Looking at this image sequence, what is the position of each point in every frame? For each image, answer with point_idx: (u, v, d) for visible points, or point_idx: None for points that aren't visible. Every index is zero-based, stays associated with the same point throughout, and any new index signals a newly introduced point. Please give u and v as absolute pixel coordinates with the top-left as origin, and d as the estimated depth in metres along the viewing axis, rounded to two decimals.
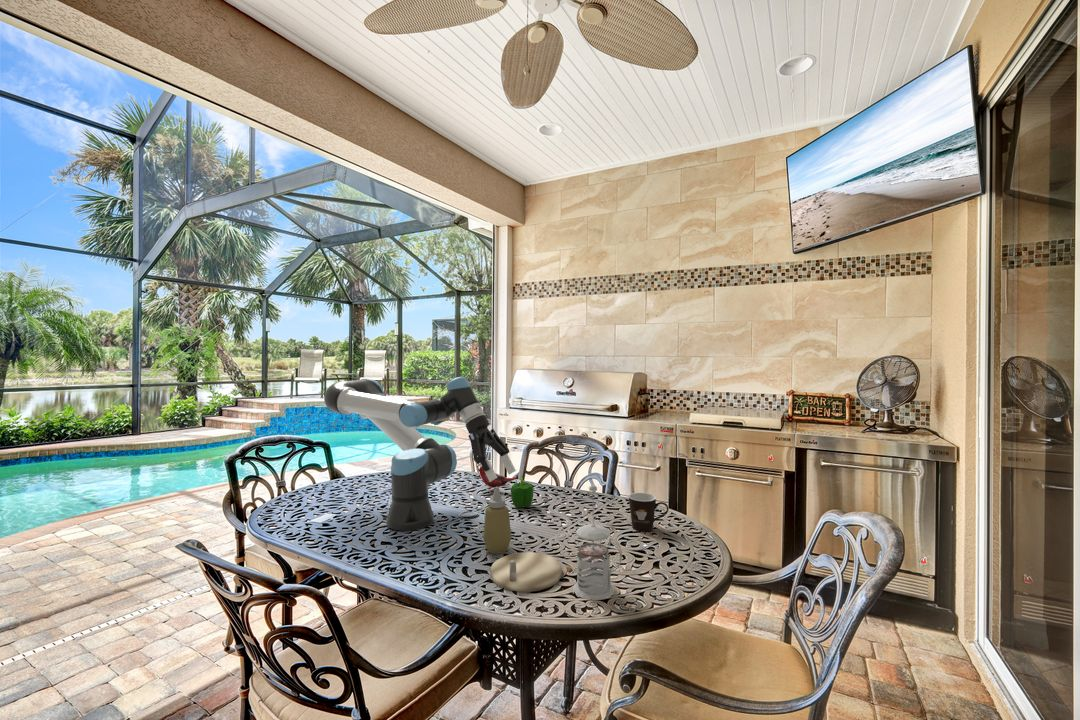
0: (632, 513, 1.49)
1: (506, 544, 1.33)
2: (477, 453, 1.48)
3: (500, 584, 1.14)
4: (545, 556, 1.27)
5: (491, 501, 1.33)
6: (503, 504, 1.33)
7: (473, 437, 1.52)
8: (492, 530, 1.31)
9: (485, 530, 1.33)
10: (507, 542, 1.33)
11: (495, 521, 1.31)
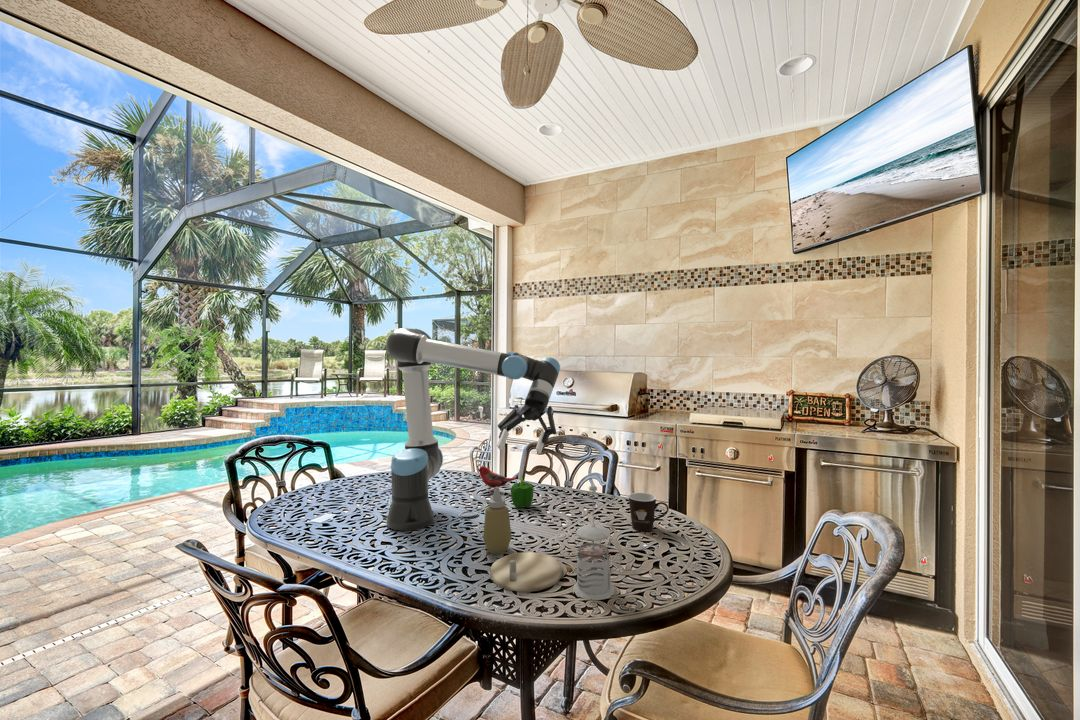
0: (632, 513, 1.49)
1: (506, 544, 1.33)
2: None
3: (500, 584, 1.14)
4: (545, 556, 1.27)
5: (491, 501, 1.33)
6: (503, 504, 1.33)
7: (552, 413, 1.52)
8: (492, 530, 1.31)
9: (485, 530, 1.33)
10: (507, 542, 1.33)
11: (495, 521, 1.31)
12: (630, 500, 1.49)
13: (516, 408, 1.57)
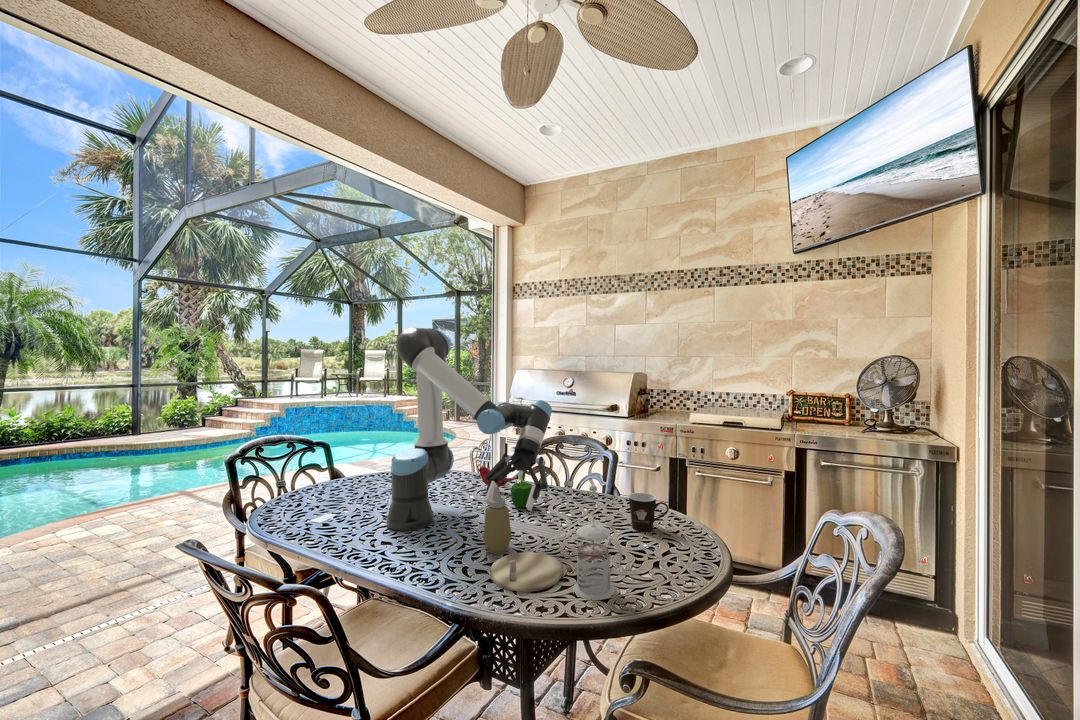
0: (632, 513, 1.49)
1: (506, 544, 1.33)
2: (546, 481, 1.39)
3: (500, 584, 1.14)
4: (545, 556, 1.27)
5: (491, 501, 1.33)
6: (503, 504, 1.33)
7: (543, 464, 1.43)
8: (492, 530, 1.31)
9: (485, 530, 1.33)
10: (507, 542, 1.33)
11: (495, 521, 1.31)
12: (630, 500, 1.49)
13: (505, 457, 1.47)
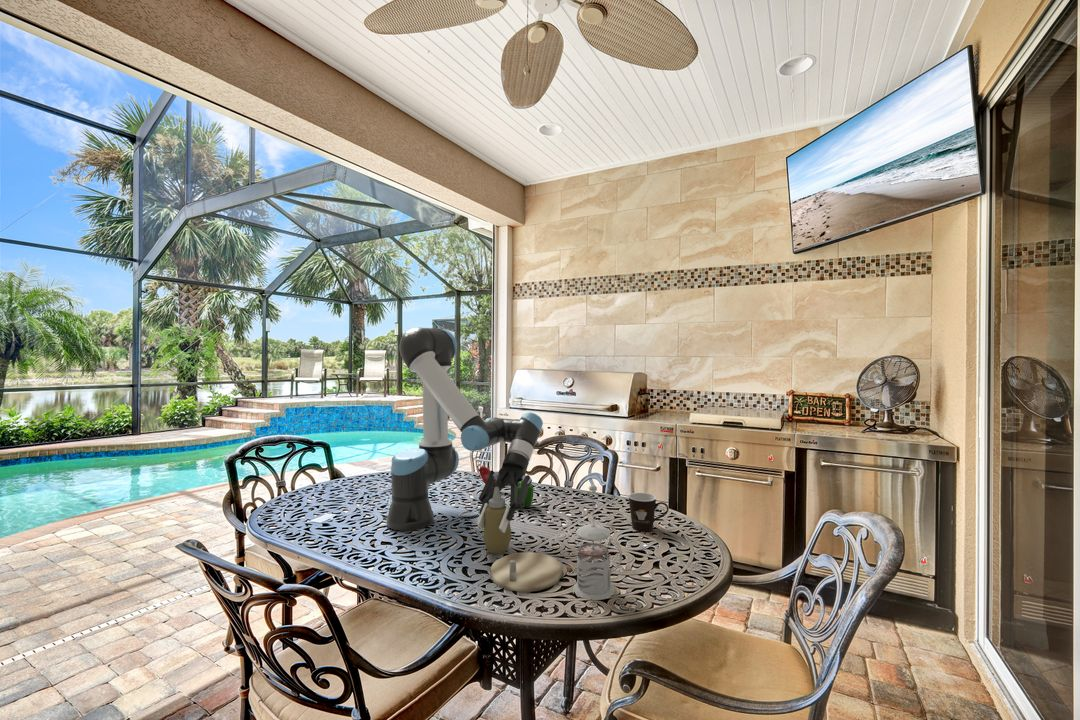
0: (632, 513, 1.49)
1: (506, 544, 1.33)
2: (523, 502, 1.35)
3: (500, 584, 1.14)
4: (545, 556, 1.27)
5: (491, 501, 1.33)
6: (503, 504, 1.33)
7: (528, 483, 1.38)
8: (492, 530, 1.31)
9: (485, 530, 1.33)
10: (507, 542, 1.33)
11: (495, 521, 1.31)
12: (630, 500, 1.49)
13: (493, 474, 1.43)
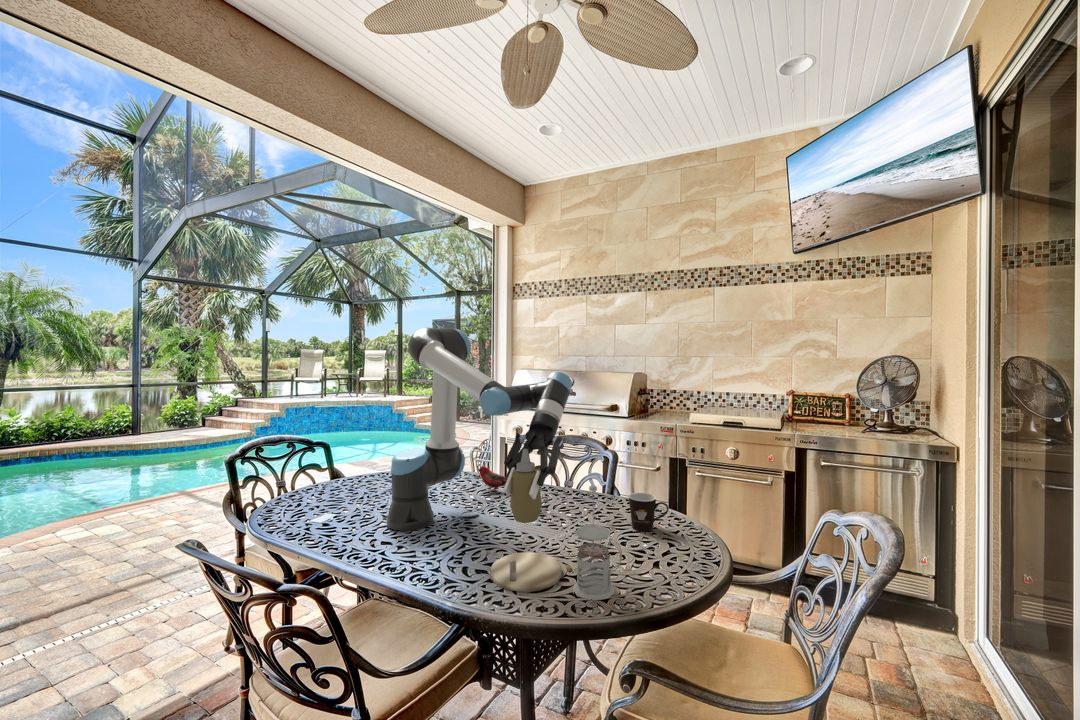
0: (632, 513, 1.49)
1: (537, 512, 1.18)
2: (555, 466, 1.20)
3: (500, 584, 1.14)
4: (545, 556, 1.27)
5: (519, 464, 1.19)
6: (533, 468, 1.19)
7: (560, 445, 1.24)
8: (521, 497, 1.17)
9: (513, 497, 1.18)
10: (537, 510, 1.18)
11: (524, 486, 1.17)
12: (630, 500, 1.49)
13: (519, 437, 1.28)
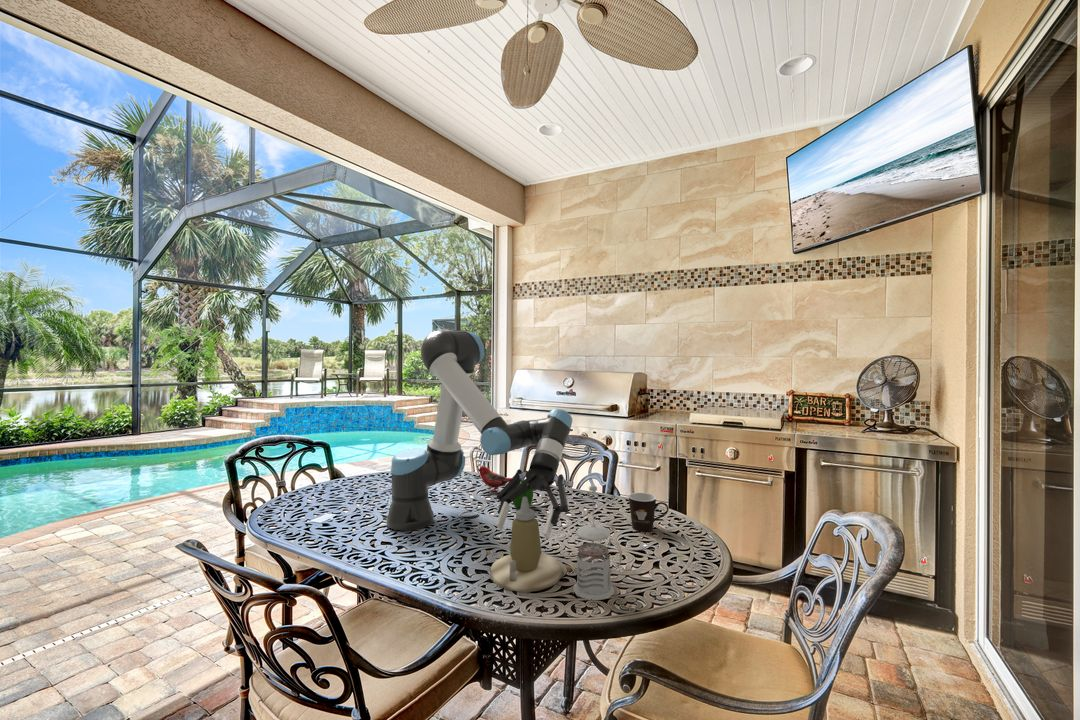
0: (632, 513, 1.49)
1: (537, 561, 1.19)
2: (566, 503, 1.20)
3: (500, 584, 1.14)
4: (545, 556, 1.27)
5: (519, 513, 1.19)
6: (532, 516, 1.19)
7: (563, 482, 1.25)
8: (521, 546, 1.17)
9: (513, 545, 1.19)
10: (537, 559, 1.19)
11: (524, 535, 1.17)
12: (630, 500, 1.49)
13: (519, 474, 1.29)
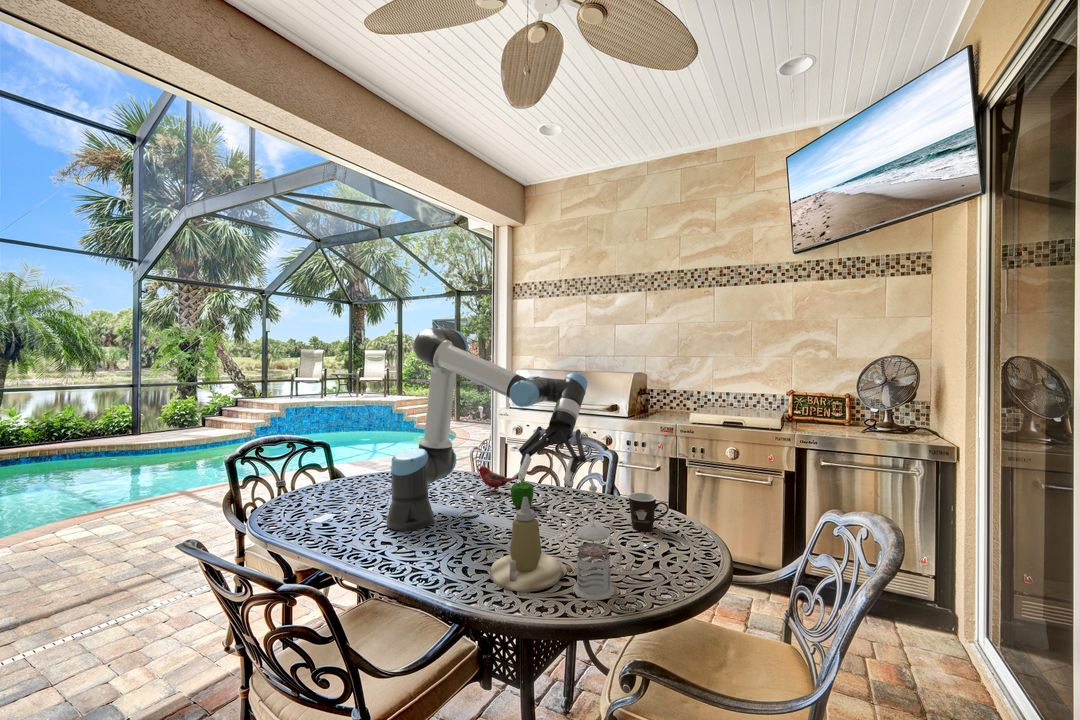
0: (632, 513, 1.49)
1: (537, 561, 1.19)
2: (584, 454, 1.32)
3: (500, 584, 1.14)
4: (545, 556, 1.27)
5: (519, 513, 1.19)
6: (533, 516, 1.19)
7: (580, 437, 1.36)
8: (521, 546, 1.17)
9: (513, 545, 1.19)
10: (537, 559, 1.18)
11: (524, 536, 1.17)
12: (630, 500, 1.49)
13: (539, 430, 1.41)
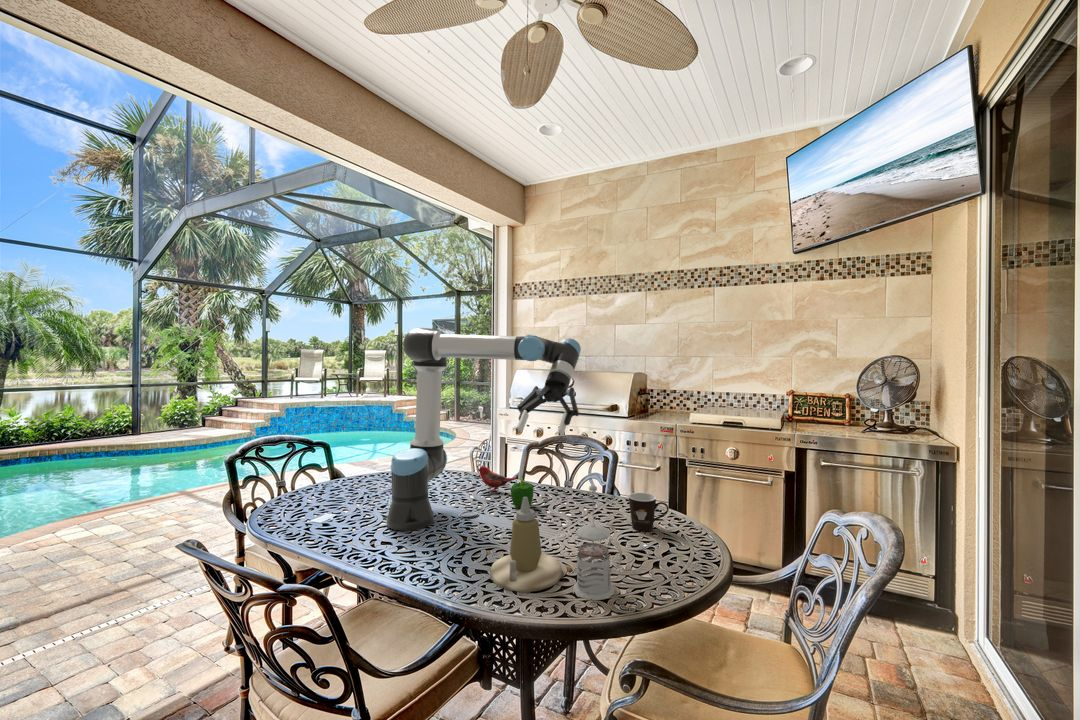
0: (632, 513, 1.49)
1: (537, 561, 1.19)
2: (577, 409, 1.43)
3: (500, 584, 1.14)
4: (545, 556, 1.27)
5: (519, 513, 1.19)
6: (533, 516, 1.19)
7: (574, 394, 1.47)
8: (521, 546, 1.17)
9: (513, 545, 1.19)
10: (537, 559, 1.18)
11: (524, 536, 1.17)
12: (630, 500, 1.49)
13: (536, 389, 1.52)
